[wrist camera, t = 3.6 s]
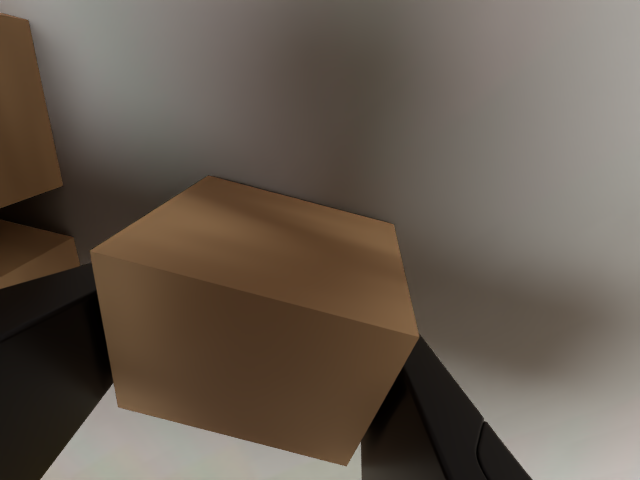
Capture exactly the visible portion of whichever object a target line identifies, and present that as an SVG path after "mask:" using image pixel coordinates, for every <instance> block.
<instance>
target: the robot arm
mask: <svg viewBox="0 0 640 480" xmlns="http://www.w3.org/2000/svg"><path fill="white" fill-rule="evenodd" d="M113 383H114V382H113V377H112V371H111V366H110V360H109V355H108V349H107V344H106V338H105V333H104V327H103V322H102V316H101V311H100V305H99V300H98V294H97V289H96V283H95V278H94V272H93V267H92V263H89V264H86V265H82V266H79V267H75V268H72V269H68V270H65V271H61V272H58V273H54V274H51V275H47V276H44V277H40V278H37V279H33V280H30V281H26V282H23V283H19V284H16V285H12V286H8V287H5V288H1V289H0V480H40V479H41V478H42V477H43V475H44V474H45V473H46V471H47V470H48V469H49V467H50V466H51V465H52V463H53V462H54V461H55V459H56V458H57V457H58V455H59V454H60V453H61V451H62V450H63V449H64V447H65V446H66V445H67V443H68V442H69V441H70V440H71V438H72V437H73V436H74V434H75V433H76V432H77V430H78V429H79V428H80V426H81V425H82V424H83V422H84V421H85V420H86V418H87V417H88V416H89V414H90V413H91V412H92V410H93V409H94V408H95V407H96V405H97V404H98V403H99V401H100V400H101V399H102V397H103V396H104V395H105V393H106V392H107V391H108V389H109V388H110V387H111V385H112V384H113ZM483 421H484V418H483V416H482V415H481V414H480V412H479V411H478V410H477V408H476V407H475V406H474V405H473V403H472V402H471V401H470V399H469V398H468V397H467V395H466V394H465V393H464V391H463V390H462V389H461V388H460V386H459V385H458V384H457V382H456V381H455V380H454V378H453V377H452V376H451V374H450V373H449V372H448V371H447V369H446V368H445V367H444V365H443V364H442V363H441V361H440V360H439V359H438V357H437V356H436V355H435V354H434V352H433V351H432V350H431V348H430V347H429V346H428V344H427V343H426V342H425V340H424V339H423V338H422V337H421V335H420V334H419V339H418V341H417V342H416V344H415V346H414V348H413V349H412V351H411V353H410V355H409V357H408V358H407V360H406V362H405V364H404V365H403V367H402V369H401V371H400V373H399V374H398V376H397V378H396V380H395V381H394V383H393V385H392V387H391V388H390V390H389V392H388V394H387V396H386V397H385V399H384V401H383V403H382V404H381V406H380V408H379V410H378V412H377V413H376V415H375V417H374V419H373V420H372V422H371V424H370V426H369V427H368V429H367V431H366V433H365V435H364V436H363V438H362V440H361V466H362V480H532V478H531V477H530V476H529V475H528V474H527V473H526V471H525V470H524V469H523V468H522V466H521V465H520V464H519V462H518V461H517V460H516V459H515V457H514V456H513V455H512V454H511V452H510V451H509V450H508V449H507V447H506V446H505V445H504V444H503V442H502V441H501V440H500V438H499V437H498V436H497V434H496V433H495V432H494V431H493V429H492V428H491V427H490V425H489V424H488V423H487V422H485V421H484V422H483Z"/></svg>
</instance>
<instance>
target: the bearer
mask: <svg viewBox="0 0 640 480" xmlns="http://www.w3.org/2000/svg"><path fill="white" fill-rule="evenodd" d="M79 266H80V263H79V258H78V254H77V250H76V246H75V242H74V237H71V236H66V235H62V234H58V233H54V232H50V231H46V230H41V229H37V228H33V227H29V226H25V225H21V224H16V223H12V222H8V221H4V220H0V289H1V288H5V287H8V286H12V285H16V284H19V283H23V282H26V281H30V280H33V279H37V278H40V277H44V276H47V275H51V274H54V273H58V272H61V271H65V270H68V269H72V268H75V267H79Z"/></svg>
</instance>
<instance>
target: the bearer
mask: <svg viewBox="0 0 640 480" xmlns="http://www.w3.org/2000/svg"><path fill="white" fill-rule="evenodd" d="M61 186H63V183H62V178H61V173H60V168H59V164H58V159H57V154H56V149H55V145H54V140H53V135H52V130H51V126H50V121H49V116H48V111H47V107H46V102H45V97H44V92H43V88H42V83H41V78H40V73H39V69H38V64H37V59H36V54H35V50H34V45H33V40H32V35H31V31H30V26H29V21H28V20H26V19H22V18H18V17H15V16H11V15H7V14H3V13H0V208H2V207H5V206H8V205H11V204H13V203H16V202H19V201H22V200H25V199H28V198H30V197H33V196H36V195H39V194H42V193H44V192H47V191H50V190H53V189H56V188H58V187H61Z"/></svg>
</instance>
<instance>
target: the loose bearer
mask: <svg viewBox="0 0 640 480" xmlns="http://www.w3.org/2000/svg"><path fill="white" fill-rule="evenodd" d="M90 256H91V261H92V267H93V272H94V278H95V283H96V289H97V294H98V300H99V305H100V311H101V316H102V322H103V327H104V333H105V338H106V344H107V349H108V355H109V360H110V366H111V371H112V377H113V382H114V388H115V393H116V399H117V404H118V407H119V408H123V409H127V410H131V411H135V412H139V413H143V414H146V415H150V416H154V417H158V418H162V419H166V420H170V421H173V422H177V423H181V424H185V425H189V426H193V427H197V428H201V429H204V430H208V431H212V432H216V433H220V434H224V435H228V436H231V437H235V438H239V439H243V440H247V441H251V442H255V443H259V444H262V445H266V446H270V447H274V448H278V449H282V450H286V451H289V452H293V453H297V454H301V455H305V456H309V457H313V458H317V459H320V460H324V461H328V462H332V463H336V464H340V465H344V466H347V465H348V463H349V461H350V459H351V458H352V456H353V454H354V452H355V450H356V449H357V447H358V445H359V443H360V442H361V440H362V438H363V436H364V435H365V433H366V431H367V429H368V427H369V426H370V424H371V422H372V420H373V419H374V417H375V415H376V413H377V412H378V410H379V408H380V406H381V404H382V403H383V401H384V399H385V397H386V396H387V394H388V392H389V390H390V388H391V387H392V385H393V383H394V381H395V380H396V378H397V376H398V374H399V373H400V371H401V369H402V367H403V365H404V364H405V362H406V360H407V358H408V357H409V355H410V353H411V351H412V349H413V348H414V346H415V344H416V342H417V341H418V339H419V333H418V329H417V324H416V320H415V315H414V311H413V307H412V302H411V298H410V293H409V289H408V285H407V280H406V276H405V271H404V267H403V263H402V258H401V254H400V249H399V245H398V241H397V236H396V232H395V227H394V224H391V223H387V222H383V221H379V220H376V219H372V218H368V217H364V216H360V215H357V214H353V213H349V212H345V211H341V210H338V209H334V208H330V207H326V206H322V205H319V204H315V203H311V202H307V201H303V200H300V199H296V198H292V197H288V196H284V195H281V194H277V193H273V192H269V191H266V190H262V189H258V188H254V187H250V186H247V185H243V184H239V183H235V182H231V181H228V180H224V179H220V178H216V177H212V176H209V175H208V176H207V177H205V178H203V179H202V180H200V181H199V182H197V183H196V184H194V185H192V186H191V187H189V188H188V189H186V190H185V191H183V192H181V193H180V194H178V195H177V196H175V197H174V198H172V199H170V200H169V201H167V202H166V203H164V204H163V205H161V206H159V207H158V208H156V209H155V210H153V211H152V212H150V213H148V214H147V215H145V216H144V217H142V218H141V219H139V220H137V221H136V222H134V223H133V224H131V225H130V226H128V227H126V228H125V229H123V230H122V231H120V232H119V233H117V234H115V235H114V236H112V237H111V238H109V239H107V240H106V241H104V242H103V243H101V244H100V245H98V246H96V247H95V248H93V249H92V250H90Z"/></svg>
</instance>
